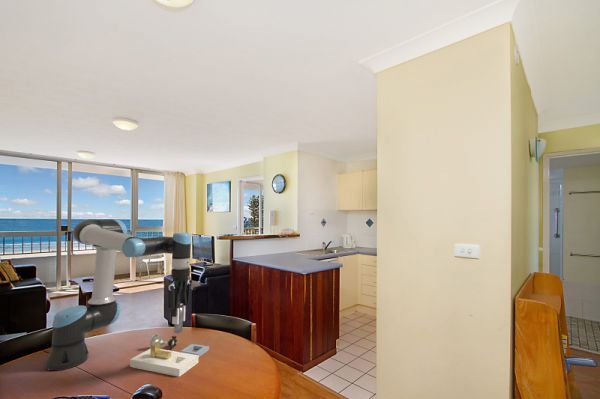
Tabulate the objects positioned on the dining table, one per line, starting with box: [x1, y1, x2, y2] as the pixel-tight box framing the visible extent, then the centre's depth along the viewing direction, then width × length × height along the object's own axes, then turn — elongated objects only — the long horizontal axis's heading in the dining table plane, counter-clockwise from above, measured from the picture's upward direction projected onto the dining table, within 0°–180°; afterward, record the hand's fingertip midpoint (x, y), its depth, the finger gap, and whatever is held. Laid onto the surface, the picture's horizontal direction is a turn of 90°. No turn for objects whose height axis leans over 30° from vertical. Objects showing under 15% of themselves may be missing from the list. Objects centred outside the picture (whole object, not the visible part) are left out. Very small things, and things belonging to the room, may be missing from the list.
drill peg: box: [173, 301, 184, 334], centre depth 122 cm, size 3×3×12 cm
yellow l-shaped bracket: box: [150, 342, 172, 359], centre depth 124 cm, size 9×3×5 cm, turn 73°
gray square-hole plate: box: [180, 343, 210, 358], centre depth 135 cm, size 10×8×2 cm
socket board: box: [129, 348, 200, 378], centre depth 123 cm, size 26×12×4 cm, turn 73°
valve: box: [149, 333, 178, 351], centre depth 140 cm, size 7×7×12 cm
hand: (178, 322), depth 122 cm, fingers closed on drill peg, 3 cm apart
